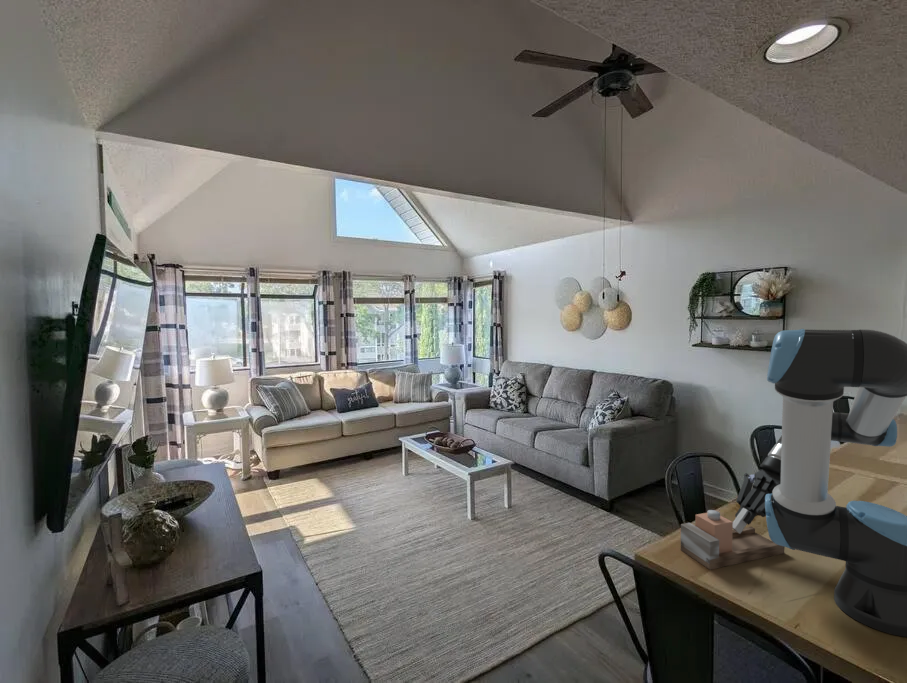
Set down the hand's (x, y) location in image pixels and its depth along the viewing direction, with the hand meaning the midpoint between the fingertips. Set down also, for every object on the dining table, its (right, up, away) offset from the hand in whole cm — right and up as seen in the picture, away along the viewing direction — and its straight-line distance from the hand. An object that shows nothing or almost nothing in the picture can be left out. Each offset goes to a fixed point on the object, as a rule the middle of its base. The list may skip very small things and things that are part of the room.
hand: (735, 530), depth 123 cm
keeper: (-7, -5, -2) cm, 9 cm away
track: (-1, -6, 0) cm, 6 cm away
